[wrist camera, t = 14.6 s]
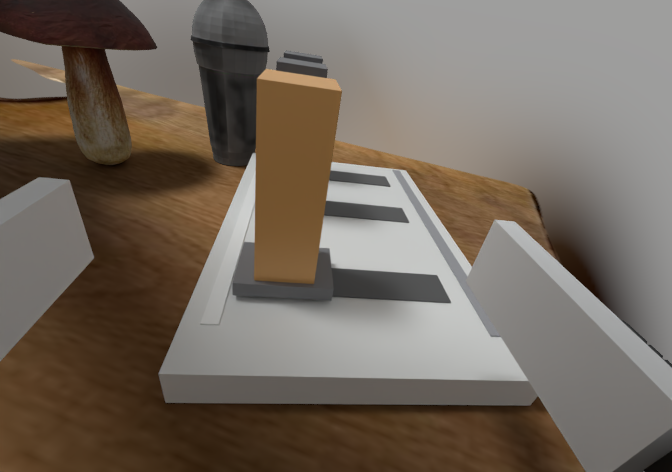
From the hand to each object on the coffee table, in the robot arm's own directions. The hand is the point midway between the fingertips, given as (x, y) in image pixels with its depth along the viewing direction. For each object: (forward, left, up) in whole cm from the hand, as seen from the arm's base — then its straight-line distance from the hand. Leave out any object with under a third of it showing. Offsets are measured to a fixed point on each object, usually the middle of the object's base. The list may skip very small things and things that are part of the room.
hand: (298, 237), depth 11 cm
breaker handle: (0, +5, -6) cm, 8 cm away
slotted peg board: (+4, +12, -8) cm, 15 cm away
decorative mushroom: (-18, +23, -8) cm, 31 cm away
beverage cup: (-7, +28, -8) cm, 30 cm away
